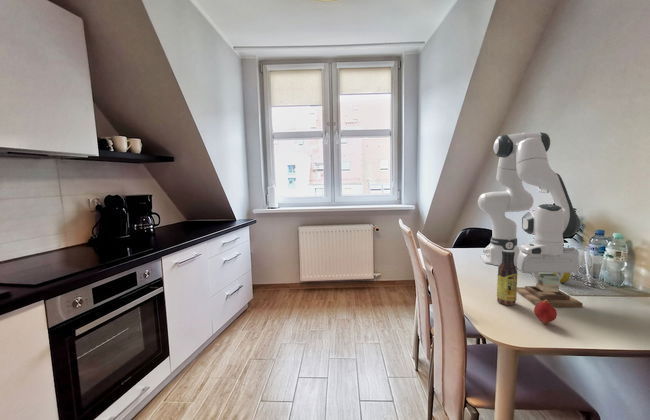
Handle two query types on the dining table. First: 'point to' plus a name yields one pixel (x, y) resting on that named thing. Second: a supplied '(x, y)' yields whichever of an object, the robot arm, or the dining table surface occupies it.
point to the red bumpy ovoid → (545, 312)
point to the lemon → (564, 277)
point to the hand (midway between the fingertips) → (547, 283)
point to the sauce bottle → (507, 279)
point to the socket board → (548, 297)
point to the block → (548, 282)
